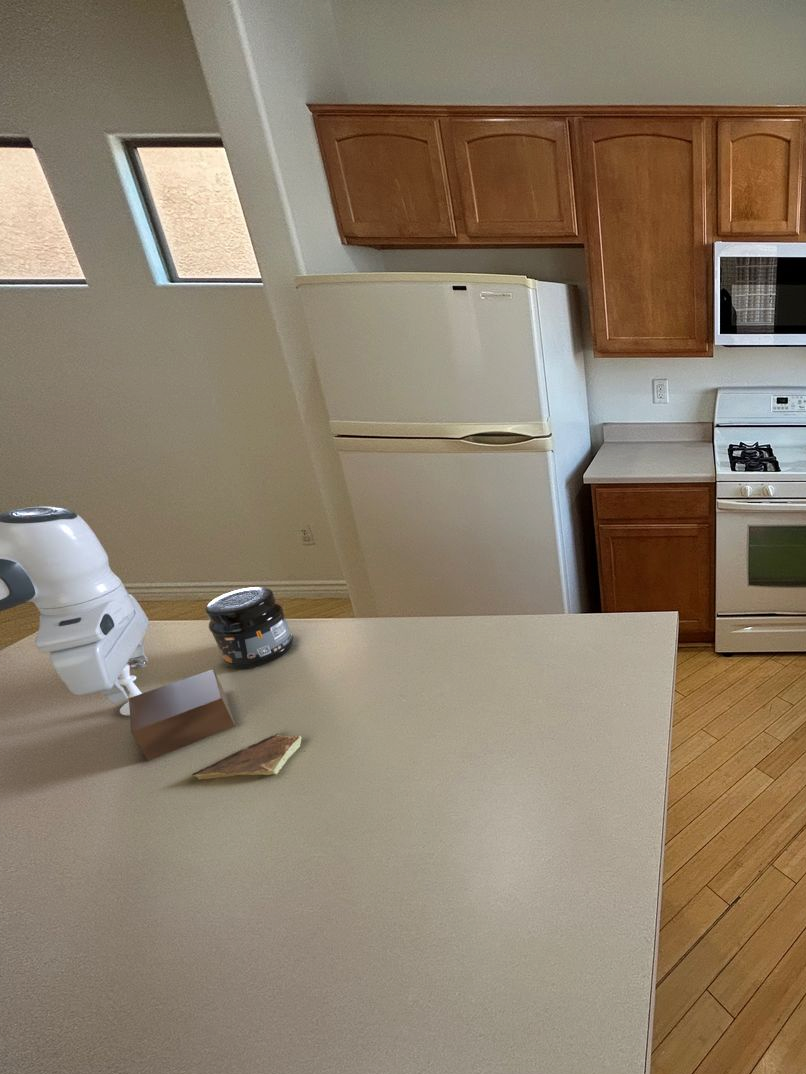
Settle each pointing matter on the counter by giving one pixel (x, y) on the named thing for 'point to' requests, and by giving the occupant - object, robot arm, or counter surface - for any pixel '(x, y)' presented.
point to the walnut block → (179, 714)
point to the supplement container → (249, 627)
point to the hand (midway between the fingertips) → (131, 682)
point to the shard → (255, 758)
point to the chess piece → (130, 686)
